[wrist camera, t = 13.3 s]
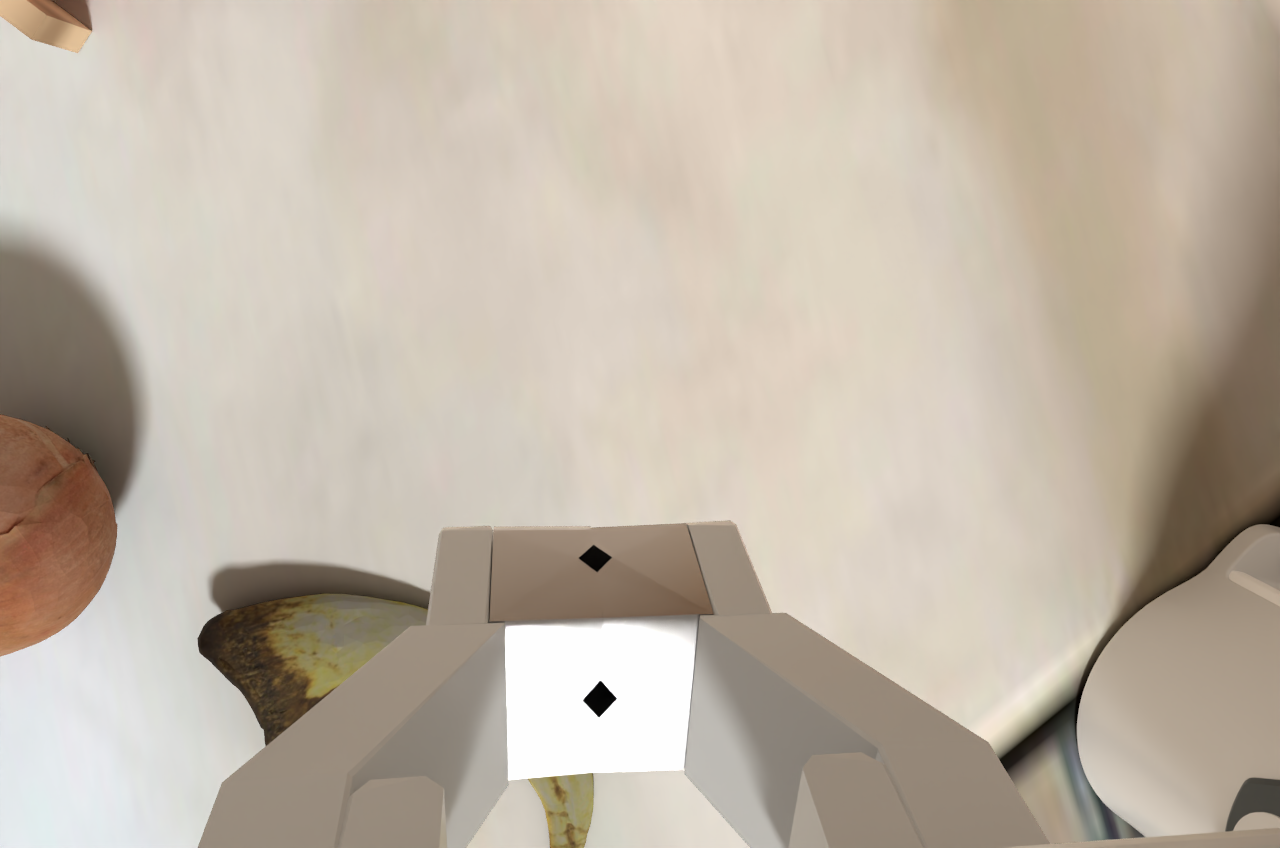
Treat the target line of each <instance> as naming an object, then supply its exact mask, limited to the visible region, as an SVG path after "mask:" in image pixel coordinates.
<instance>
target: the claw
mask: <svg viewBox="0 0 1280 848" xmlns="http://www.w3.org/2000/svg"><path fill="white" fill-rule="evenodd" d="M427 614H428V609H425V608H422V607H419V606H415V605H411V604H407V603H403V602H398V601H391V600H385V599H380V598H374V597H367V596H359V595H349V594H317V595H307V596H299V597H292V598H285V599H279V600H273V601H268V602H263V603H259V604H255V605H251V606H248V607H244V608H240V609H236V610H227V611H225V612H223V613H221V614H219V615H217V616H215V617H214V618H212V619H210V620H209V621H208V622H207V623H206V624H205V625H204V627H203V629H202V631H201V633H200V635H199V637H198V647H199V652H200V653H201V654H202V655H203V656H204V657H205V658H207V659H208V660H209V661H210V662H212V664H213V665H214V666H215V667H216V668H217V669H218V670H219V671H220V672H221V673H222V674H223V675H224V676H225V677H226V678H227V679H228V680H229V681H230V682H231V683H232V684H233V685H234V686H236V687H237V688H238V689H239V690H240V691H241V692H242V694H243V695H244V696H245V698H246V700H247V701H248V703H249V705H250V706H251V708H252V710H253V712H254V713H255V715H256V718H257V720H258V722H259V724H260V726H261V728H262V729H264V736H265V744H266V746H267V745H268V744H269V743H271V742H272V741H273V740H274V739H275V738H277V737H278V736H279V735H280V734H281V733H283V732H284V731H285V730H286V729H287V728H289V727H290V726H291V725H292V724H293V723H295V722H296V721H297V720H298V719H300V718H301V717H302V716H303V715H304V714H306V713H307V712H308V711H309V710H310V709H312V708H313V707H314V706H315V705H316V704H318V703H319V702H320V701H321V700H322V699H324V698H325V697H326V696H327V695H328V694H330V693H331V692H332V691H333V690H334V689H336V688H337V687H338V686H339V685H340V684H342V683H343V682H344V681H345V680H346V679H348V678H349V677H350V676H351V675H352V674H354V673H355V672H356V671H357V670H358V669H360V668H361V667H362V666H363V665H365V664H366V663H367V662H368V661H369V660H371V659H372V658H373V657H374V656H375V655H377V654H378V653H379V652H380V651H381V650H383V649H384V648H385V647H386V646H387V645H389V644H390V643H391V642H392V641H393V640H395V639H396V638H397V637H398V636H399V635H401V634H402V633H403V632H404V631H405V630H407V629H408V628H409V627H411V626H422V625H426V621H427ZM527 779H528V780H529V782H530V783H531V785H532V786H533V788H534V789H535V791H536V792H537V794H538V796H539V797H540V799H541V801H542V804H543V806H544V809H545V812H546V818H547V823H548V829H549V838H550V848H584V845H585V843H586V837H587V833H588V830H589V827H590V824H591V817H592V812H593V775H592V773H585V774H573V775H561V776H549V777H537V778H527Z"/></svg>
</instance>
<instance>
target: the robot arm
mask: <svg viewBox="0 0 1280 848" xmlns="http://www.w3.org/2000/svg"><path fill="white" fill-rule="evenodd" d="M1077 743H1078V750H1079V756H1080V760H1081V763H1082V766H1083V769H1084V772H1085V774H1086V776H1087V779H1088V781H1089V783H1090V784H1091V786H1092V788H1093V789H1094V791H1095V792H1096V794H1097V795H1098V796H1099V798H1100V799H1101V800H1102V801H1103V802H1104V804H1105V805H1107V806H1108V807H1109V808H1110V809H1111V810H1112V811H1113V812H1114V813H1115V814H1117V815H1118V816H1119V817H1121V818H1122V819H1123V820H1125V821H1126V822H1128V823H1129V824H1130V825H1131V826H1133V827H1134V828H1135V829H1136V830H1138V831H1139V832H1140V833H1141V834H1143V835H1144V836H1145V837H1144V838H1129V839H1115V840H1100V841H1086V842H1071V843H1057V844H1050V842H1049V841H1048V839H1047V837H1046V836H1045V834H1044V833H1043V831H1042V829H1041V828H1040V826H1039V824H1038V823H1037V821H1036V819H1035V818H1034V816H1033V815H1032V813H1031V811H1030V810H1029V808H1028V806H1027V805H1026V803H1025V801H1024V800H1023V798H1022V797H1021V795H1020V793H1019V792H1018V790H1017V788H1016V787H1015V785H1014V783H1013V782H1012V780H1011V779H1010V777H1009V775H1008V774H1007V772H1006V770H1005V769H1004V767H1003V765H1002V764H1001V762H1000V760H999V759H998V757H997V756H996V754H995V752H994V751H993V749H992V747H991V746H990V744H989V743H988V742H987V741H985V740H984V739H982V738H981V737H979V736H977V735H976V734H974V733H973V732H971V731H970V730H968V729H966V728H965V727H963V726H962V725H960V724H959V723H957V722H956V721H954V720H952V719H951V718H949V717H948V716H946V715H945V714H943V713H941V712H940V711H938V710H937V709H935V708H934V707H932V706H931V705H929V704H927V703H926V702H924V701H923V700H921V699H920V698H918V697H916V696H915V695H913V694H912V693H910V692H909V691H907V690H906V689H904V688H902V687H901V686H899V685H898V684H896V683H895V682H893V681H891V680H890V679H888V678H887V677H885V676H884V675H882V674H881V673H879V672H877V671H876V670H874V669H873V668H871V667H870V666H868V665H866V664H865V663H863V662H862V661H860V660H859V659H857V658H856V657H854V656H852V655H851V654H849V653H848V652H846V651H845V650H843V649H841V648H840V647H838V646H837V645H835V644H834V643H832V642H831V641H829V640H827V639H826V638H824V637H823V636H821V635H820V634H818V633H816V632H815V631H813V630H812V629H810V628H809V627H807V626H806V625H804V624H802V623H801V622H799V621H798V620H796V619H795V618H793V617H791V616H790V615H788V614H787V613H772V612H771V609H770V607H769V604H768V602H767V599H766V597H765V594H764V592H763V589H762V587H761V584H760V582H759V580H758V577H757V575H756V572H755V570H754V567H753V565H752V562H751V560H750V557H749V555H748V552H747V550H746V547H745V545H744V543H743V540H742V538H741V535H740V533H739V530H738V528H737V525H736V524H735V523H733V522H732V521H713V522H697V523H682V524H660V525H639V526H617V527H596V528H591V527H590V526H515V527H494V530H493V529H492V528H491V527H490V526H475V527H446V528H443V529H442V530H441V532H440V533H439V538H438V545H437V552H436V559H435V566H434V572H433V579H432V586H431V593H430V600H429V607H428V614H427V621H426V625H422V626H411V627H409V628H408V629H407V630H405V631H404V632H403V633H402V634H401V635H399V636H398V637H397V638H396V639H395V640H393V641H392V642H391V643H390V644H389V645H387V646H386V647H385V648H384V649H383V650H381V651H380V652H379V653H378V654H377V655H375V656H374V657H373V658H372V659H371V660H369V661H368V662H367V663H366V664H365V665H363V666H362V667H361V668H360V669H358V670H357V671H356V672H355V673H354V674H352V675H351V676H350V677H349V678H348V679H346V680H345V681H344V682H343V683H342V684H340V685H339V686H338V687H337V688H336V689H334V690H333V691H332V692H331V693H330V694H328V695H327V696H326V697H325V698H324V699H322V700H321V701H320V702H319V703H318V704H316V705H315V706H314V707H313V708H312V709H310V710H309V711H308V712H307V713H306V714H304V715H303V716H302V717H301V718H300V719H298V720H297V721H296V722H295V723H293V724H292V725H291V726H290V727H289V728H287V729H286V730H285V731H284V732H283V733H281V734H280V735H279V736H278V737H277V738H275V739H274V740H273V741H272V742H271V743H269V744H268V745H267V746H266V747H265V748H263V749H262V750H261V751H260V752H259V753H257V754H256V755H255V756H254V757H253V758H251V759H250V760H249V761H248V762H247V763H245V764H244V765H243V766H242V767H241V768H239V769H238V770H237V771H236V772H235V773H233V774H232V775H231V776H230V777H229V778H227V779H226V780H225V781H224V782H222V784H221V787H220V790H219V792H218V795H217V798H216V800H215V803H214V806H213V808H212V811H211V814H210V816H209V819H208V822H207V824H206V827H205V830H204V832H203V835H202V838H201V840H200V843H199V846H198V848H466V847H467V846H468V844H469V843H470V841H471V840H472V838H473V837H474V835H475V834H476V832H477V831H478V829H479V828H480V827H481V825H482V824H483V822H484V821H485V819H486V818H487V816H488V815H489V813H490V812H491V810H492V809H493V807H494V806H495V804H496V803H497V801H498V800H499V798H500V797H501V795H502V794H503V792H504V791H505V789H506V788H507V786H508V780H513V779H525V778H537V777H549V776H561V775H573V774H585V773H599V772H634V771H668V770H685V773H684V774H685V775H686V776H687V777H688V779H689V780H690V781H691V782H692V783H693V784H694V785H695V786H696V788H697V789H698V790H699V791H700V792H701V793H702V794H703V795H704V796H705V798H706V799H707V800H708V801H709V802H710V803H711V804H712V805H713V807H714V808H715V809H716V810H717V811H718V812H719V813H720V814H721V816H722V817H723V818H724V819H725V820H726V821H727V822H728V823H729V824H730V826H731V827H732V828H733V829H734V830H735V831H736V832H737V833H738V835H739V836H740V837H741V838H742V839H743V840H744V841H745V842H746V843H747V845H748V846H749V847H750V848H1280V527H1276V526H1272V525H1267V524H1259V525H1254V526H1252V527H1249V528H1247V529H1246V530H1244V531H1243V532H1241V533H1240V534H1239V535H1238V536H1237V537H1235V538H1234V539H1233V540H1232V541H1231V542H1230V543H1229V544H1228V545H1227V546H1226V547H1225V548H1224V549H1223V551H1222V552H1221V553H1220V554H1219V555H1218V556H1217V557H1216V558H1215V559H1214V560H1213V562H1212V563H1211V564H1210V565H1209V566H1208V567H1207V568H1206V569H1205V570H1204V571H1202V572H1201V573H1200V574H1198V575H1197V576H1195V577H1193V578H1192V579H1190V580H1188V581H1186V582H1185V583H1183V584H1181V585H1179V586H1177V587H1175V588H1173V589H1171V590H1170V591H1168V592H1166V593H1164V594H1163V595H1161V596H1159V597H1158V598H1156V599H1155V600H1153V601H1152V602H1150V603H1149V604H1147V605H1146V606H1145V607H1144V608H1142V609H1141V610H1140V611H1138V612H1137V613H1136V614H1135V615H1134V616H1133V617H1132V618H1131V619H1129V620H1128V621H1127V622H1126V623H1125V624H1124V625H1123V626H1122V627H1121V628H1120V630H1119V631H1118V632H1117V633H1116V634H1115V635H1114V636H1113V638H1112V639H1111V640H1110V641H1109V643H1108V644H1107V646H1106V647H1105V648H1104V650H1103V651H1102V653H1101V654H1100V656H1099V658H1098V659H1097V661H1096V663H1095V665H1094V666H1093V668H1092V671H1091V673H1090V675H1089V677H1088V679H1087V682H1086V685H1085V687H1084V690H1083V694H1082V697H1081V701H1080V705H1079V711H1078V719H1077Z"/></svg>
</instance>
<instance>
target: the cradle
mask: <svg viewBox="0 0 1280 848" xmlns="http://www.w3.org/2000/svg"><path fill="white" fill-rule="evenodd" d="M0 16H1V17H2V18H4V19H5V20H6V21H8V22H9V23H10V24H12V25H13V26H14V27H16V28H17V29H18V30H20V31H21V32H22V33H24V34H25V35H26V36H28V37H29V38H30V39H32V40H35V41H39V42H42V43H45V44H49V45H52V46H56V47H59V48H62V49H66V50H69V51H72V52H76V53H78V52H79V50H80V49H81V47H82V46H83V44H84V43H85V41H86V40H87V38H88V37H89V35H90V34H91V32H92V31H91V30H90V29H88V28H87V27H86V26H84V25H83V24H82V23H81V22H79V21H78V20H77V19H75V18H74V17H73V16H71V15H70V14H69V13H68V12H66V11H65V10H64V9H62V8H61V7H60V6H58V5H57V4H56V3H54V2H53V1H52V0H0Z"/></svg>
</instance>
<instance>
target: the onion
mask: <svg viewBox="0 0 1280 848" xmlns="http://www.w3.org/2000/svg"><path fill="white" fill-rule="evenodd" d="M46 428H47V427H46ZM46 428H43V427H41V426H38V425H36V424H33V423H30V422H28V421H24V420H21V419H17V418H13V417H9V416H5V415H1V414H0V656H3V655H6V654H10V653H13V652H15V651H18V650H21V649H24V648H26V647H29V646H32V645H34V644H37V643H39V642H41V641H43V640H45V639H47V638H49V637H51V636H52V635H54V634H56V633H58V632H59V631H61V630H62V629H63V628H65V627H66V626H68V625H69V624H70V623H71V622H72V621H74V620H75V619H76V618H77V617H78V616H79V615H80V614H81V612H82V611H83V610H84V609H85V608H86V607H87V606H88V604H89V603H90V602H91V601H92V599H93V598H94V597H95V595H96V594H97V593H98V591H99V590H100V588H101V586H102V584H103V582H104V580H105V578H106V575H107V573H108V571H109V568H110V565H111V562H112V559H113V555H114V551H115V546H116V538H117V524H116V520H115V513H114V508H113V504H112V501H111V497H110V493H109V491H108V489H107V487H106V485H105V483H104V481H103V480H102V478H101V477H100V476H99V474H98V472H97V470H96V467H95V465H94V462H95V461H94V460H92V459H91V458H90V456H89V454H87V455H86V454H84V455H83V454H82V452H81V451H80V449H76V448H75V447H74V446H73V445H71V444H70V442H69V439H68V442H67V441H66V440H65V439H63V438H62V437H60V436H59V435H57V434H55V433H53V432H52V431H51V430H50V429H49V428H47V429H46ZM87 456H88V457H87ZM88 458H89V459H88ZM89 460H90V461H89Z"/></svg>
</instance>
